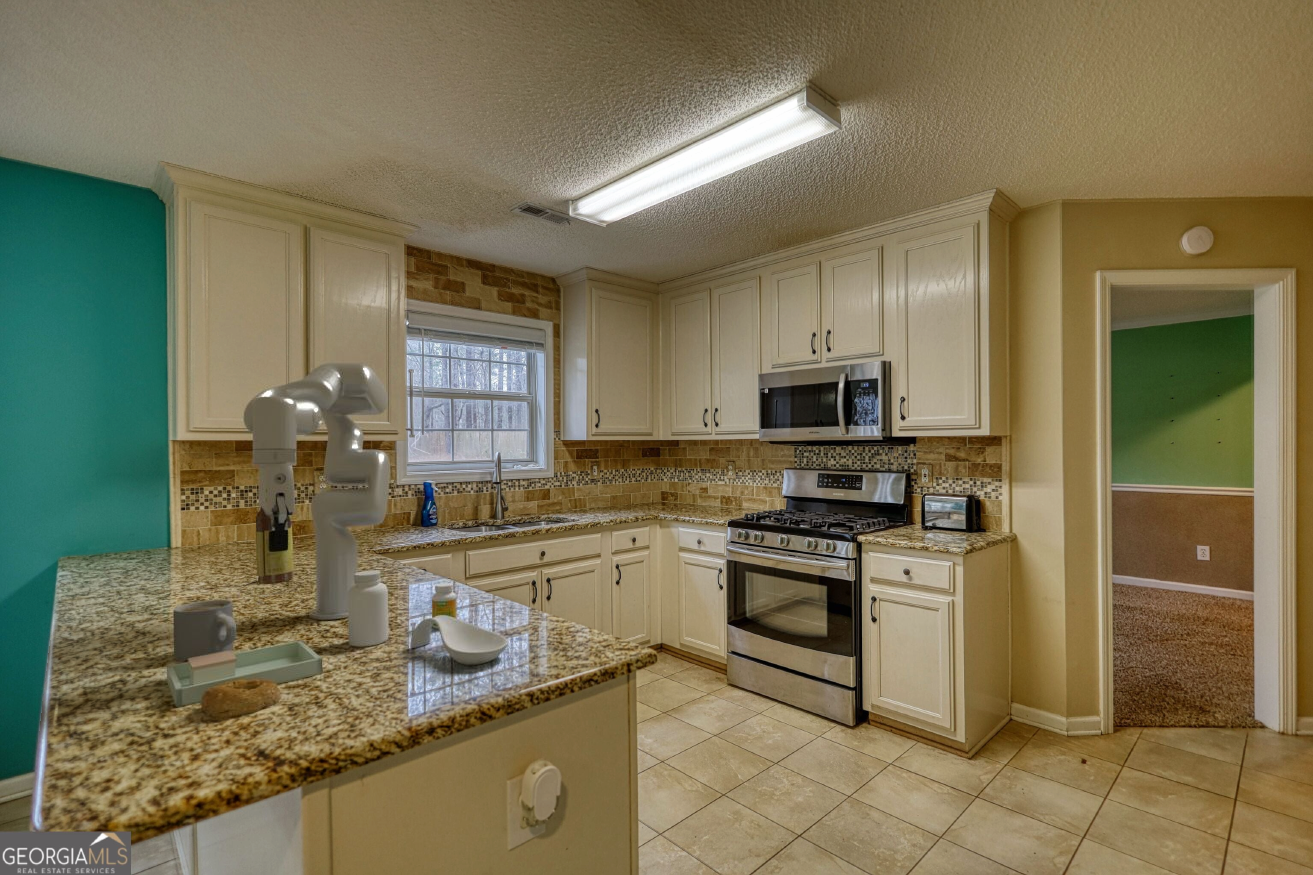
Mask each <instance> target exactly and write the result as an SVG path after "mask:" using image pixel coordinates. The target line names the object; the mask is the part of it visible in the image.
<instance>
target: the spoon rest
mask: <svg viewBox="0 0 1313 875" xmlns="http://www.w3.org/2000/svg"><path fill="white" fill-rule="evenodd" d="M433 623H436V624H437V626H438V627H439V629H438V630H439V634H440V638H441V640H442V644H443V646H444V648H445V650H446V652H447V654H448V655H449V656H450V657H451V658H452V659H453V660H455V661H456V662H458V663H460V664H461V665H464V666H465V665H466V666H474V665H481V664H482V665H483V664H486V663H488V662H489V663H490V662H491V661H493V660H495V659H496V658H498V657H499V656H501V654H502V653H503V652H504V651H505V649H506V648H507V647H508V643H509V641H508V639H507V638H506V637H505V636H503V635H501V634H499V633H497V632H494V631H492V630H488V629H485V628H482V627H479V626H477V625H474V624H471V623H469V622H466V621H464V620H461V619H458V618H457V617H456V618H453V617H450V616H446V615H439V616H436V617H434V618H432V617H428V618H425V619H423V620H421V621H420V622H419V623H418V624H417V625H416V627H415V629H414V630H413V633H412V635H411V639H410V648H411V649H415V648H416V649H417V648H419V647H423V646H426V645H429V644H430V643H431V630H432V627H433V626H432V625H433Z"/></svg>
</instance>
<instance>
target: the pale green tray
mask: <svg viewBox="0 0 1313 875" xmlns="http://www.w3.org/2000/svg"><path fill="white" fill-rule="evenodd" d="M232 653H233V654H234V655H235V657H236V658H237V662H235V676H233V677H228V678H224V679H219V680H214V681H210V682H205V683H200V684H196V685H191V686H190V684H189V663H188V661H186V662H181V663H177V664H172V665H171V664H170V665H167V666H166V682H167V685H168V689H169V691H170V694H171V696H172V699H173V702H174V704H175V707H176V708H179V707H183V706H184V707H185V706H187V705H192V704H196V703H201V699H202V696H203V694H204V692H205V691H207V690H208V689H210V688H212V687H214V686H218V685H220V684H223V683H225V682H229V681H235V680H241V679H245V680H248V681H249V680H254V679H257V680H264V679H265V680H269V681H272V682H274V683H275V684H276V685H279V684H283V683H287V682H292V681H297V680H300V679H305V678H311V677H314V676H318V675H322V674H323V658H322V657H321V656H320V655H319V654H318V653H316V652H315V651H314V650H313V649H312V648H311V647H310V646H308V644H306V643H305V642H303V641H302V640H301V639H300V640H295V641H290V642H286V643H285V642H284V643H279V644H274V645H269V646H263V647H259V648H254V649H253V648H252V649H249V650H244V651H238V652H235V653H234V652H232Z"/></svg>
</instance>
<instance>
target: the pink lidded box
mask: <svg viewBox="0 0 1313 875" xmlns="http://www.w3.org/2000/svg"><path fill="white" fill-rule="evenodd" d="M233 653H234V652H233V650H232V651H231V650H229V651H223V652H218V653H213V654H208V655H202V656H197V657H192V658H188V660H187V662H188V663H189V684H190V686H191V685H196V684H200V683H205V682H210V681H214V680H219V679H224V678H228V677H233V676H235V662H237V658H236V657H235V655H234V654H233Z"/></svg>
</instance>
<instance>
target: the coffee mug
mask: <svg viewBox="0 0 1313 875" xmlns="http://www.w3.org/2000/svg"><path fill="white" fill-rule="evenodd" d="M233 605H234V604H233V601H232V600H230V599H229V600H228V599H211V600H203V601H202V600H201V601H194V602H190V603H186V604H182V605H179V606H176V607H174V609H173V661H175V662H183V661H188V658H192V657H197V656H202V655H208V654H213V653H218V652H223V651H229V650H231V651H232V652H233V650H234V641H235V640H236V637H237V625H236V622H235V619H234V614H233V612H234V611H233V610H234V609H233V608H234V607H233Z"/></svg>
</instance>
